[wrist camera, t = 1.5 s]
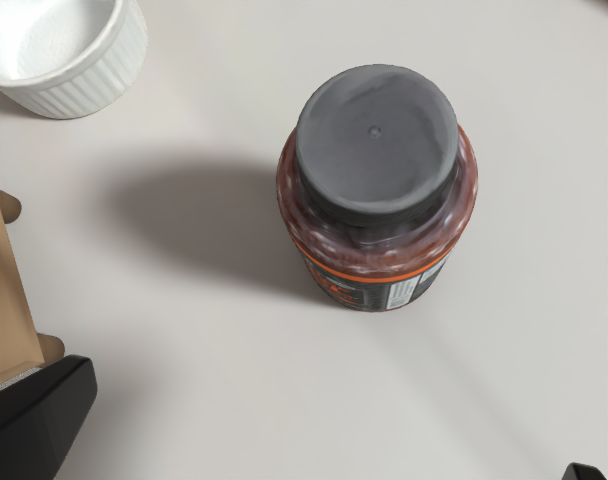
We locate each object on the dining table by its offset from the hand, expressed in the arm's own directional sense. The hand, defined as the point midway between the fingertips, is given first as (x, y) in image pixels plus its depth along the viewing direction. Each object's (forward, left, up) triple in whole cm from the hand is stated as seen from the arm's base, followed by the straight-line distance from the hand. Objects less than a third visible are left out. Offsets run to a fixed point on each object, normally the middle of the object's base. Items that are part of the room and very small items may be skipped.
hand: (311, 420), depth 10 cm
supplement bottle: (+7, -1, -13) cm, 15 cm away
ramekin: (+17, +15, -13) cm, 26 cm away
